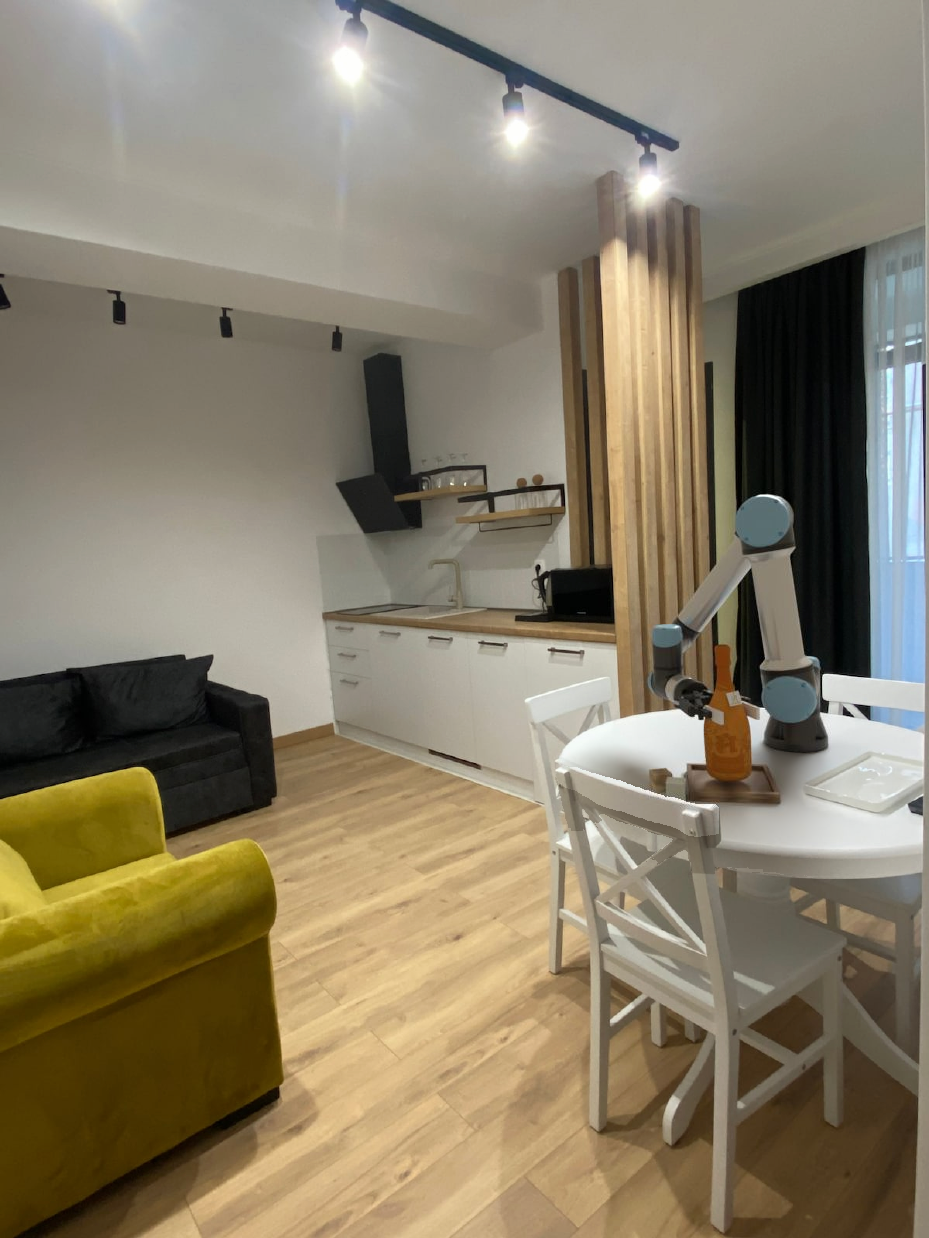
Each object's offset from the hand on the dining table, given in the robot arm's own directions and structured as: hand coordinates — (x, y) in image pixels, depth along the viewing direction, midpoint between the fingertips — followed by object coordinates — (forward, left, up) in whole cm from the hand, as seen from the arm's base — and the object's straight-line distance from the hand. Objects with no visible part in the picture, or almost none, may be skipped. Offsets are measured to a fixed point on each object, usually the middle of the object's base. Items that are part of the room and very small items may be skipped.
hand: (740, 716), depth 148 cm
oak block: (+17, -2, -18) cm, 25 cm away
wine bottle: (+2, -4, -15) cm, 16 cm away
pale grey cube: (+14, +3, -18) cm, 23 cm away
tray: (+2, -4, -17) cm, 18 cm away
